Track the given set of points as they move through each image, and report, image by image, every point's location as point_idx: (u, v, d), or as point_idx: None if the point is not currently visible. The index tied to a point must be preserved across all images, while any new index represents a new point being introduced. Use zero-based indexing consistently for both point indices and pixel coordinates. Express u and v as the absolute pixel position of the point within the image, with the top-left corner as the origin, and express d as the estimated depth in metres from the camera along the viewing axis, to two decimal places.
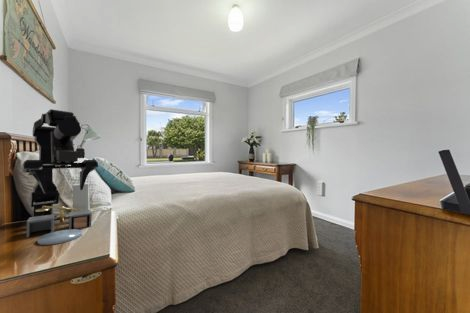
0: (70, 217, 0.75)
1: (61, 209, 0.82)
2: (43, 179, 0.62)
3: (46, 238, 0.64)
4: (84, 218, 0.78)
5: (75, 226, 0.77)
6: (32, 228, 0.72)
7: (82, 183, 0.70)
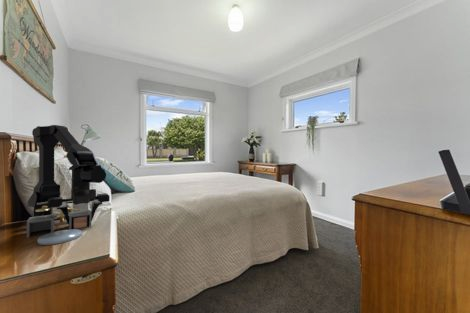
0: (70, 217, 0.75)
1: None
2: (67, 213, 0.76)
3: (46, 238, 0.64)
4: (84, 218, 0.78)
5: (75, 226, 0.77)
6: (32, 228, 0.72)
7: (91, 215, 0.81)
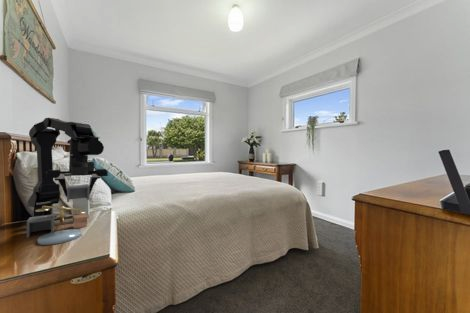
0: (68, 189, 0.74)
1: (61, 209, 0.82)
2: (65, 186, 0.75)
3: (46, 238, 0.64)
4: (84, 218, 0.78)
5: (75, 226, 0.77)
6: (32, 228, 0.72)
7: (90, 189, 0.80)
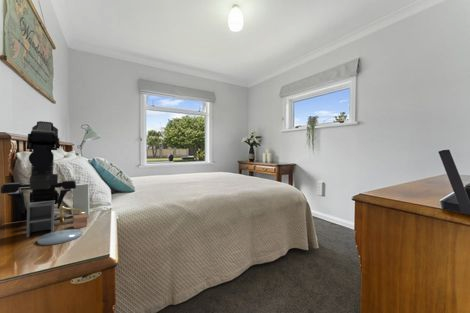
0: (28, 207, 0.68)
1: (61, 209, 0.82)
2: (21, 201, 0.68)
3: (46, 238, 0.64)
4: (84, 218, 0.78)
5: (75, 226, 0.77)
6: (32, 228, 0.73)
7: (59, 203, 0.74)
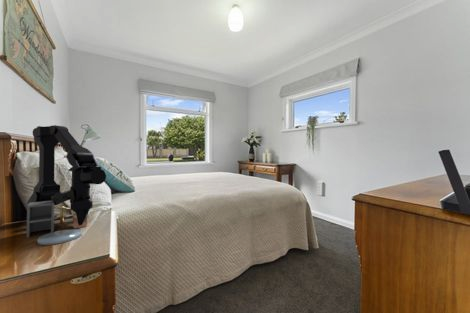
0: (28, 207, 0.68)
1: (61, 209, 0.82)
2: None
3: (46, 238, 0.64)
4: None
5: (75, 226, 0.77)
6: (32, 228, 0.73)
7: None
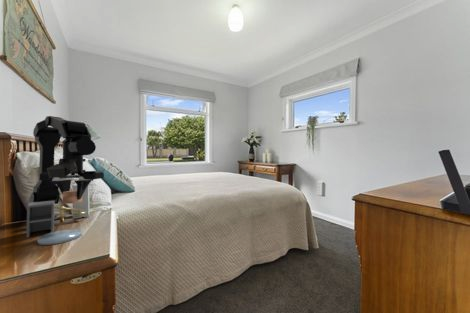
0: (28, 207, 0.68)
1: (61, 209, 0.82)
2: (62, 188, 0.72)
3: (46, 238, 0.64)
4: None
5: (75, 200, 0.72)
6: (32, 228, 0.73)
7: (77, 194, 0.72)
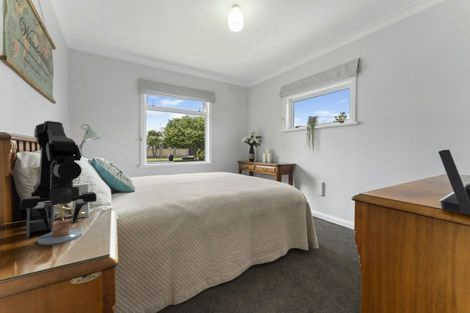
0: None
1: (61, 209, 0.82)
2: (45, 215, 0.64)
3: (46, 238, 0.64)
4: (68, 222, 0.69)
5: (68, 232, 0.67)
6: (32, 228, 0.73)
7: (74, 218, 0.69)
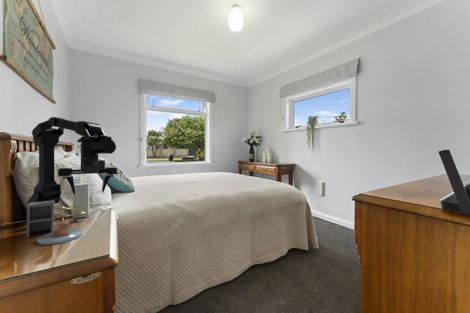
0: (28, 207, 0.68)
1: (61, 209, 0.82)
2: (72, 184, 0.76)
3: (46, 238, 0.64)
4: (68, 222, 0.69)
5: (68, 232, 0.67)
6: (32, 228, 0.73)
7: (103, 187, 0.83)
